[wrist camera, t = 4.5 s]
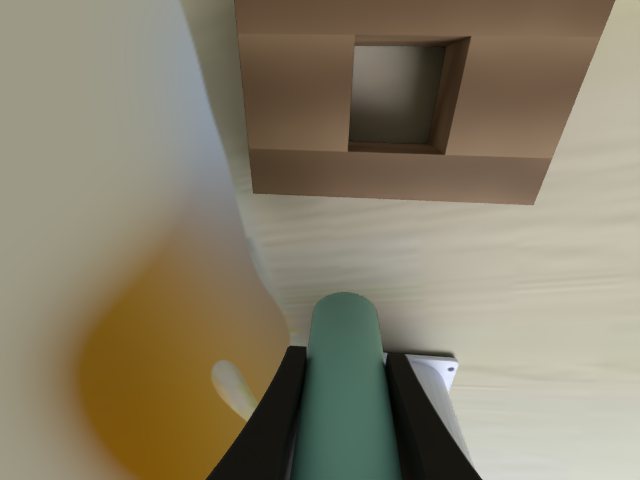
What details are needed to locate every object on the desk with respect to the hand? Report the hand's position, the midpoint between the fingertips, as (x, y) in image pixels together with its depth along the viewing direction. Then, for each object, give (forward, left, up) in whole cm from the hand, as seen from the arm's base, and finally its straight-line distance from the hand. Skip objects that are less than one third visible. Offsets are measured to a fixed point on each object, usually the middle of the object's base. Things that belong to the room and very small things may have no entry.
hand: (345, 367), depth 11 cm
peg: (0, 0, -3) cm, 3 cm away
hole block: (+9, -2, -10) cm, 13 cm away
